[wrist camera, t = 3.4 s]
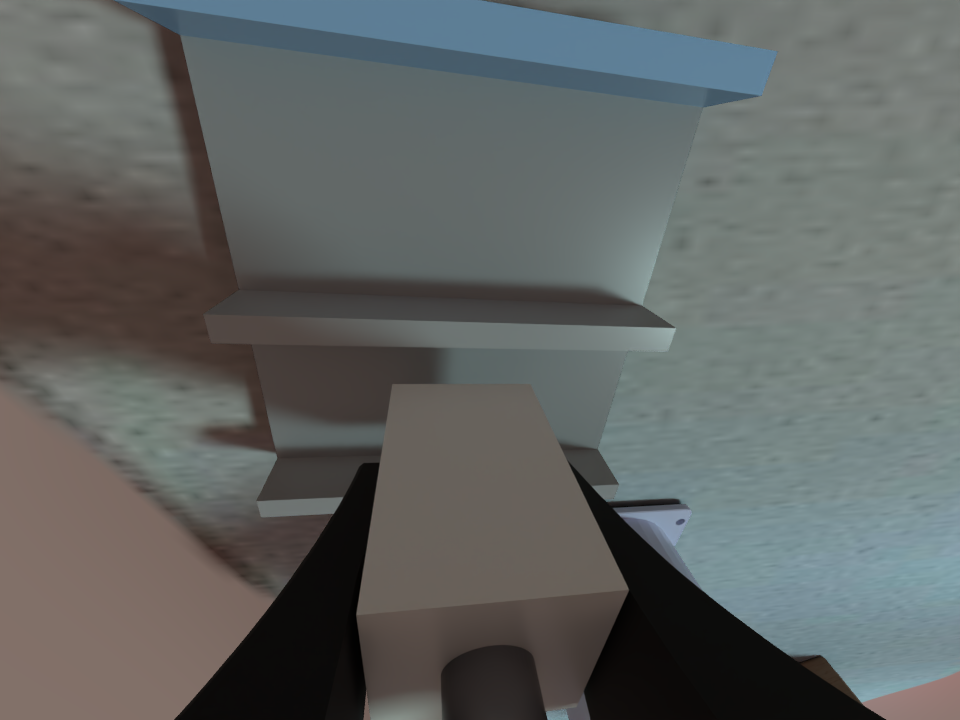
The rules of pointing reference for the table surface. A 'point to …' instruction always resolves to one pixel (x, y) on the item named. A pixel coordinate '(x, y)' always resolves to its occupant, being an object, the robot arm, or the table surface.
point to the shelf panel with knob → (439, 207)
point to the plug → (480, 562)
